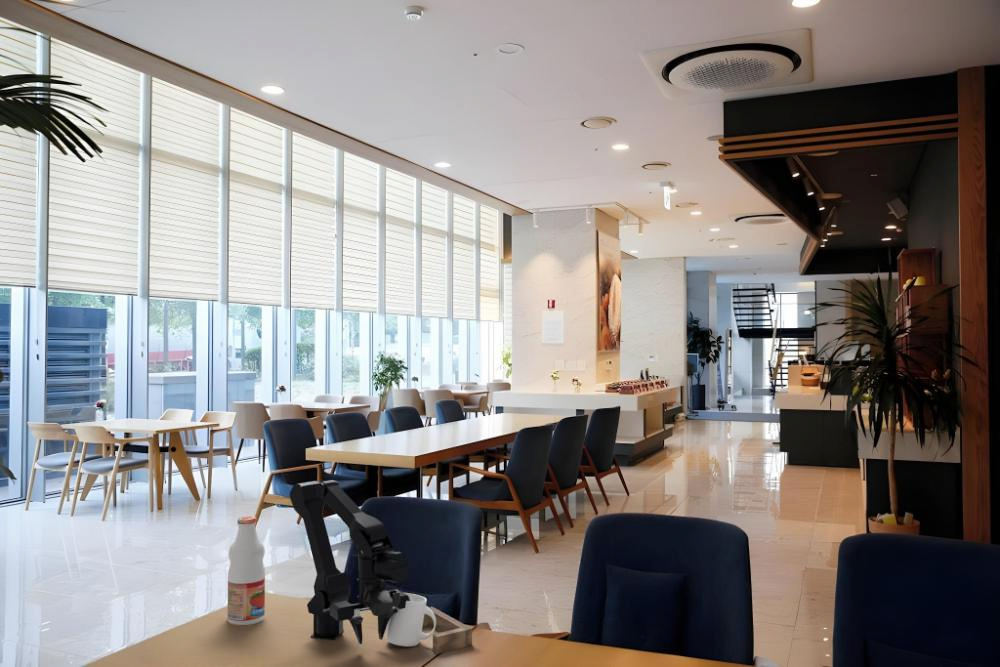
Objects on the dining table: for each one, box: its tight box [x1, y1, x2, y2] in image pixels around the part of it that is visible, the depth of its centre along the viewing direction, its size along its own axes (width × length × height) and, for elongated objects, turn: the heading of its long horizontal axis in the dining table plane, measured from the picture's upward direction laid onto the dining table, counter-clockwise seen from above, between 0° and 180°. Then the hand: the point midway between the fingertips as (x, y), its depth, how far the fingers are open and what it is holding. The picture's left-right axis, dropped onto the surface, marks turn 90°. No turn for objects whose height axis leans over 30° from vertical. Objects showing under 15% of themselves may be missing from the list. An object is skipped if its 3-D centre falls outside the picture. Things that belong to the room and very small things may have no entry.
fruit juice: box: [226, 516, 266, 626], centre depth 206 cm, size 9×9×28 cm
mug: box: [385, 592, 436, 647], centre depth 192 cm, size 9×12×11 cm
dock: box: [422, 606, 473, 654], centre depth 197 cm, size 10×20×4 cm, turn 34°
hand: (370, 641), depth 187 cm, fingers open, 5 cm apart
